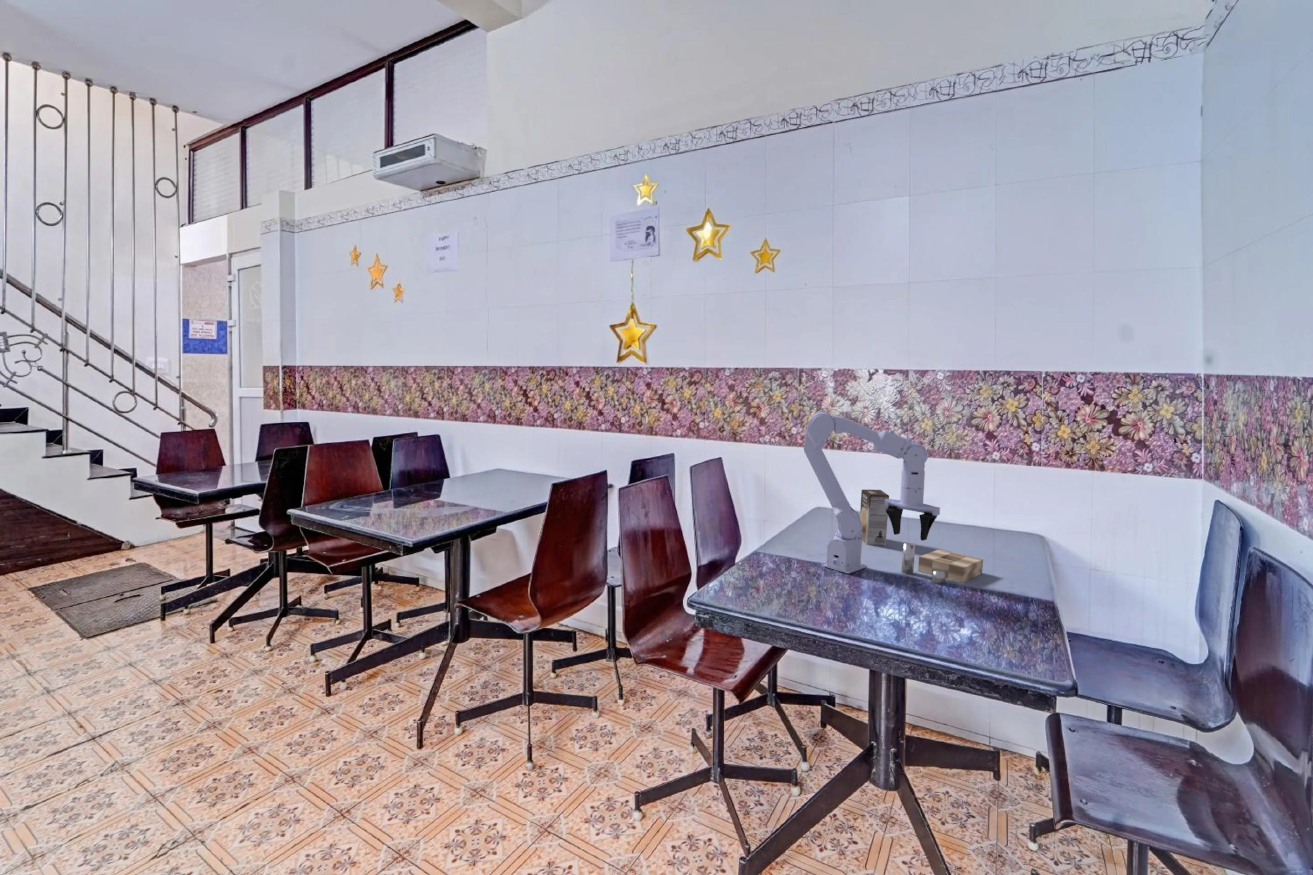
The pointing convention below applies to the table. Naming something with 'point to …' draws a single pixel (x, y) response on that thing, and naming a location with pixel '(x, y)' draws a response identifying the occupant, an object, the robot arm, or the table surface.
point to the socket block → (951, 565)
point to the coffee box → (873, 517)
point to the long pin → (908, 558)
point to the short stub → (938, 577)
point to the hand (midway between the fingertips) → (910, 536)
